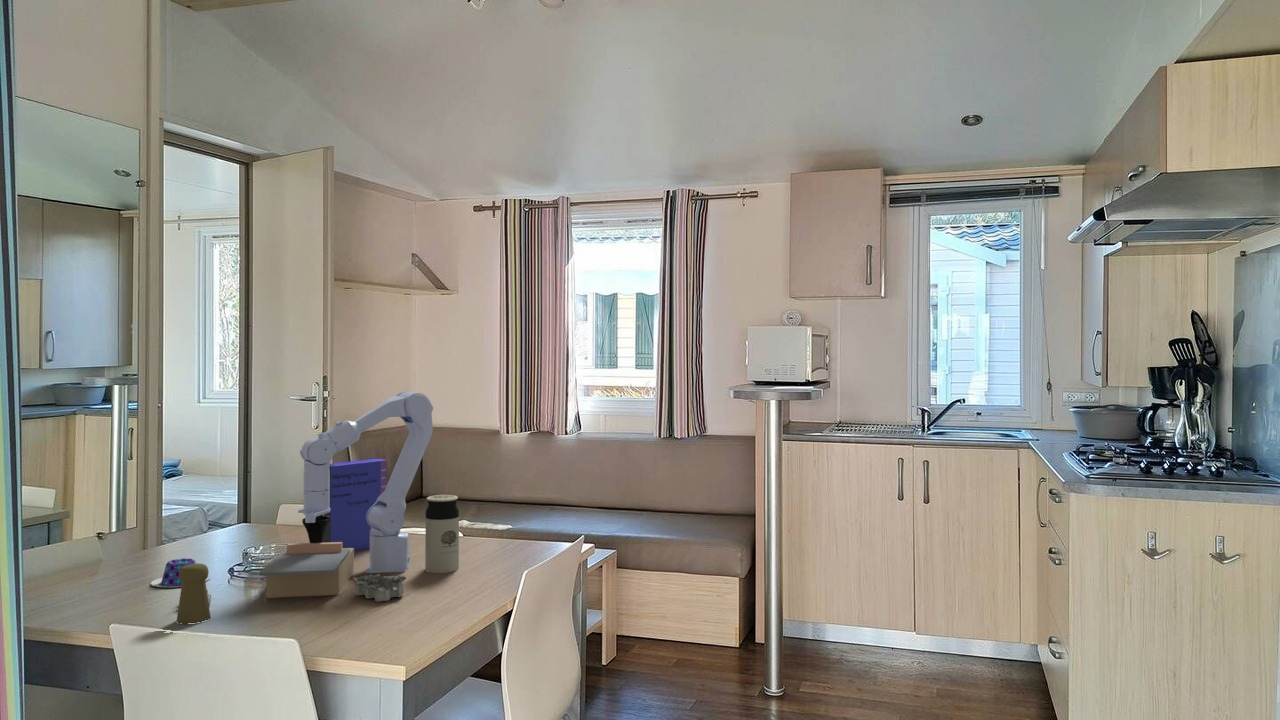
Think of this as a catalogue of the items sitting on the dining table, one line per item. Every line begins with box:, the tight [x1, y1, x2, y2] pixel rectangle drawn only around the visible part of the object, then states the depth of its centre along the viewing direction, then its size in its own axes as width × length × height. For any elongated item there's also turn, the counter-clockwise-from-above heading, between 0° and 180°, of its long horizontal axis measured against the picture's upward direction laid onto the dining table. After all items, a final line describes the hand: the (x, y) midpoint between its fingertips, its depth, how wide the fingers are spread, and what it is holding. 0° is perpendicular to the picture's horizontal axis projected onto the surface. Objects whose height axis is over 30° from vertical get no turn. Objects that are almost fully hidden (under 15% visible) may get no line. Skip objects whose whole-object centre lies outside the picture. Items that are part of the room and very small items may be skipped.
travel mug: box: [424, 494, 460, 574], centre depth 209 cm, size 8×8×18 cm
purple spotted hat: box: [150, 557, 211, 589], centre depth 198 cm, size 12×12×5 cm
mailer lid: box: [258, 542, 350, 577], centre depth 190 cm, size 15×20×3 cm
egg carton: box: [352, 573, 407, 603], centre depth 186 cm, size 11×8×4 cm
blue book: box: [323, 458, 387, 552], centre depth 231 cm, size 17×5×24 cm, turn 144°
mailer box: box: [265, 548, 355, 599], centre depth 196 cm, size 15×20×6 cm
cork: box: [176, 562, 211, 624], centre depth 169 cm, size 6×6×11 cm
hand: (316, 548), depth 200 cm, fingers closed
